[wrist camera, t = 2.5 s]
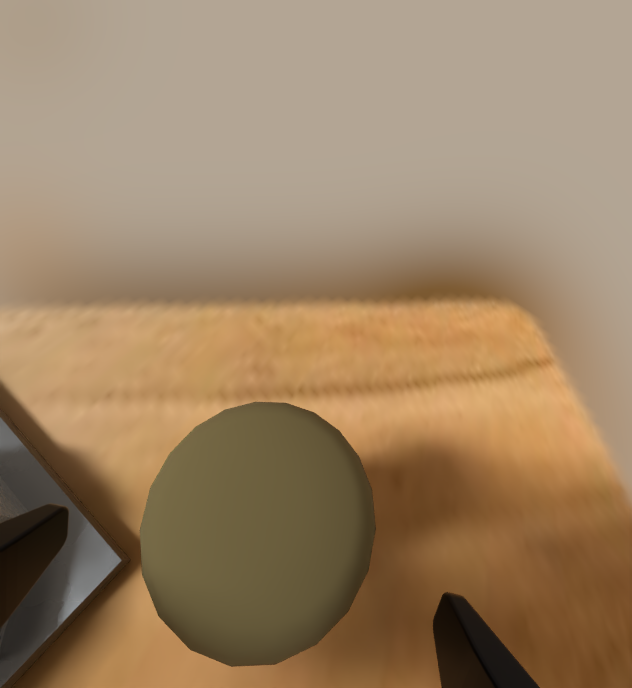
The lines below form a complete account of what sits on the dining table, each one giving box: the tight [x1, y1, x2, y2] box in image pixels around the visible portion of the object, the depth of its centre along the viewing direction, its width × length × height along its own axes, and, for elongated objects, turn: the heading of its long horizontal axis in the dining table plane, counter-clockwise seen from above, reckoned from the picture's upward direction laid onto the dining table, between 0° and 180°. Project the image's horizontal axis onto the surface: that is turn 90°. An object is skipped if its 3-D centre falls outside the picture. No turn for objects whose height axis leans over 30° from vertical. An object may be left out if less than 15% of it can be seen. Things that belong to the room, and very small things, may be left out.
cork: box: [140, 402, 376, 667], centre depth 11 cm, size 6×6×11 cm
